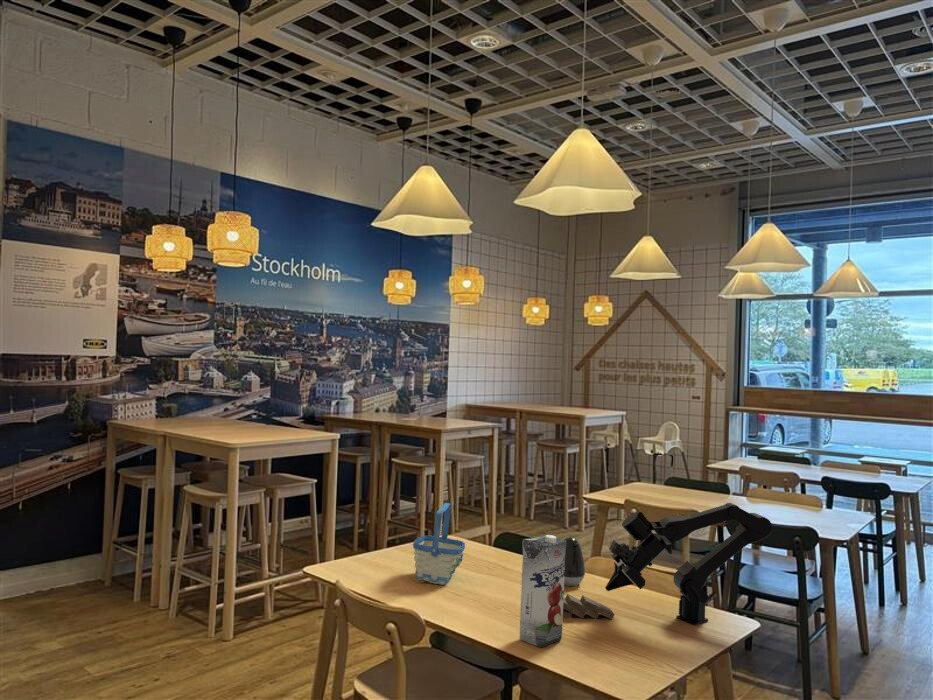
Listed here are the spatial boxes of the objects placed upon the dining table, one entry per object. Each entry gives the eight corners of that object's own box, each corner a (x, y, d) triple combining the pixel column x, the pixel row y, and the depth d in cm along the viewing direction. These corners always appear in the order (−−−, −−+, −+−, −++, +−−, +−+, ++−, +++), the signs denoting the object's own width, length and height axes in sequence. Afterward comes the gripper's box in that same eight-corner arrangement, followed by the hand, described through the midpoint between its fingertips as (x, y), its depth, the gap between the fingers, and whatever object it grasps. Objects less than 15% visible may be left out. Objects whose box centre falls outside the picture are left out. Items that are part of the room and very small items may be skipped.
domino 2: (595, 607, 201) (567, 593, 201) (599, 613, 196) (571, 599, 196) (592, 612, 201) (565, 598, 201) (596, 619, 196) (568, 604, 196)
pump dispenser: (561, 589, 222) (563, 541, 222) (548, 579, 232) (550, 533, 232) (590, 588, 225) (592, 540, 225) (576, 578, 235) (578, 533, 235)
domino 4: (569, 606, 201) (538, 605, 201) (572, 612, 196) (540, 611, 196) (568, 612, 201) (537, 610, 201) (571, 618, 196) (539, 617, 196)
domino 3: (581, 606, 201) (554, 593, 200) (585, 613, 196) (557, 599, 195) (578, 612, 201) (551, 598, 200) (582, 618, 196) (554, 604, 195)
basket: (457, 590, 217) (461, 514, 218) (406, 585, 219) (410, 510, 220) (467, 571, 237) (470, 502, 238) (421, 567, 240) (424, 499, 241)
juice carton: (514, 639, 178) (518, 533, 179) (540, 630, 185) (544, 528, 186) (540, 650, 172) (545, 540, 173) (566, 640, 179) (570, 535, 180)
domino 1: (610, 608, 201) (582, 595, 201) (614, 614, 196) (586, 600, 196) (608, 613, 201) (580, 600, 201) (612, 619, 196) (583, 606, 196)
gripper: (619, 524, 209) (581, 559, 208) (635, 539, 190) (593, 578, 190) (644, 551, 209) (606, 587, 208) (662, 569, 190) (621, 608, 190)
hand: (606, 589), depth 199 cm, fingers closed
